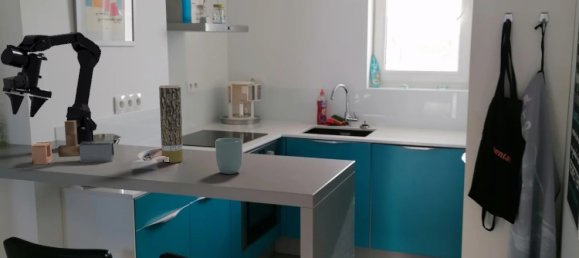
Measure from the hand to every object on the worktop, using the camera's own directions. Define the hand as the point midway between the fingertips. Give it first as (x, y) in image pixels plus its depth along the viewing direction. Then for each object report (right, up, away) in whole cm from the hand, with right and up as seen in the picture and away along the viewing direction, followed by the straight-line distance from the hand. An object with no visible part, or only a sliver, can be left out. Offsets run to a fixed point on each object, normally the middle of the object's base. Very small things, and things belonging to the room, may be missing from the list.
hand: (22, 115), depth 198 cm
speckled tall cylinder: (+53, -15, -7) cm, 55 cm away
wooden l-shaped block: (+23, -13, -4) cm, 27 cm away
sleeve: (+27, -15, -4) cm, 31 cm away
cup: (+73, -18, -25) cm, 79 cm away
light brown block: (+9, -15, -6) cm, 19 cm away
